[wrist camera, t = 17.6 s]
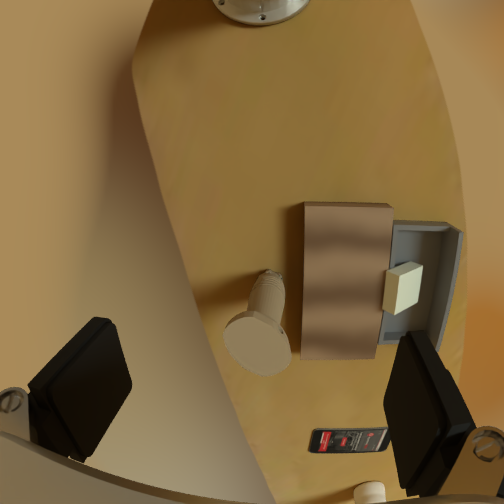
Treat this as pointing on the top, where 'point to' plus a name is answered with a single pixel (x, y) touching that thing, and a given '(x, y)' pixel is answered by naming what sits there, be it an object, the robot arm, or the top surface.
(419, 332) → the robot arm
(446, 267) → the box
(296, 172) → the top surface
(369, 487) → the water bottle
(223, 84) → the top surface
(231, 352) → the handle
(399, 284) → the tile
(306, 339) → the board
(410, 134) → the top surface
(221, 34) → the top surface
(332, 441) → the smartphone
